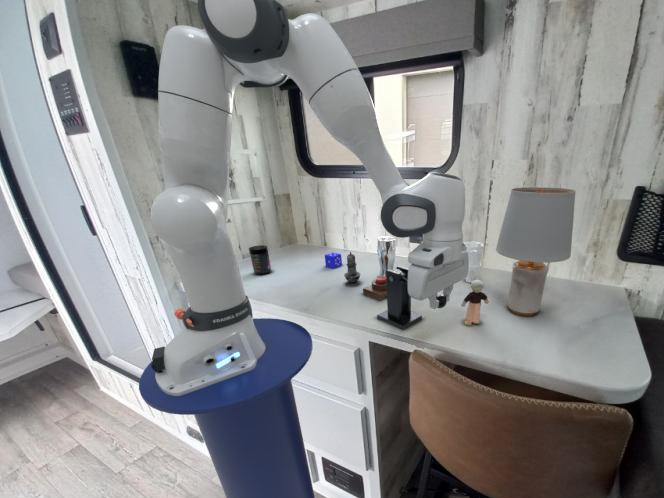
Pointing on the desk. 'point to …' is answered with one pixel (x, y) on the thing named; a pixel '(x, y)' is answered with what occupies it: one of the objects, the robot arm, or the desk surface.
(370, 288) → the control block
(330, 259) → the die
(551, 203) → the lamp
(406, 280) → the lever
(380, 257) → the beer glass
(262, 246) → the supplement container
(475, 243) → the clear tall cylinder
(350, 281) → the grey tall figure
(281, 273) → the desk surface
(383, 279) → the button
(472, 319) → the grandmother figurine
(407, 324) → the bracket
